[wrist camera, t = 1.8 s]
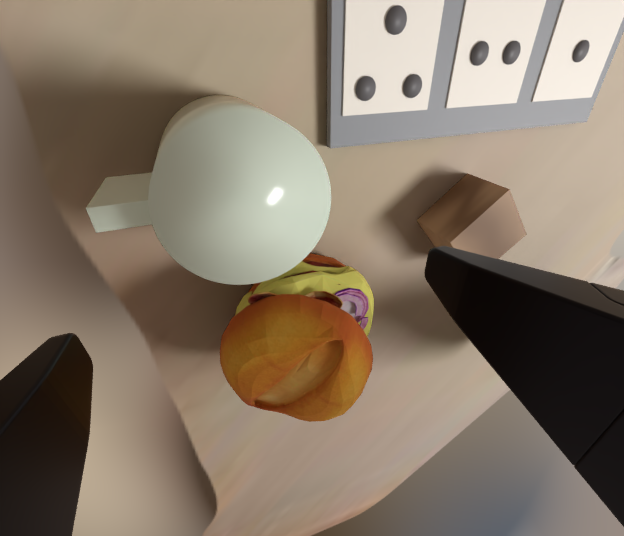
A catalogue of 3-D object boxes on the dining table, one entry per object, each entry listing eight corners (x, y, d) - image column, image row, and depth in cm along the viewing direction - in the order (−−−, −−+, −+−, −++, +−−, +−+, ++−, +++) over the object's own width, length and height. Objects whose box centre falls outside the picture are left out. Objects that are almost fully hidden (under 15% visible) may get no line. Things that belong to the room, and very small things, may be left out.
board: (641, -37, 20) (656, -40, 19) (578, 120, 25) (589, 122, 24) (327, -63, 14) (334, -68, 14) (326, 146, 19) (331, 149, 19)
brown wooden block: (466, 172, 24) (509, 189, 21) (485, 214, 27) (526, 234, 24) (415, 219, 25) (450, 242, 22) (440, 254, 28) (473, 279, 25)
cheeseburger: (352, 340, 29) (382, 450, 21) (234, 338, 28) (214, 455, 20) (376, 242, 24) (428, 335, 16) (231, 234, 23) (202, 331, 14)
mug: (283, 91, 17) (332, 105, 12) (290, 213, 21) (330, 267, 15) (89, 101, 15) (32, 124, 9) (137, 237, 18) (118, 311, 13)
